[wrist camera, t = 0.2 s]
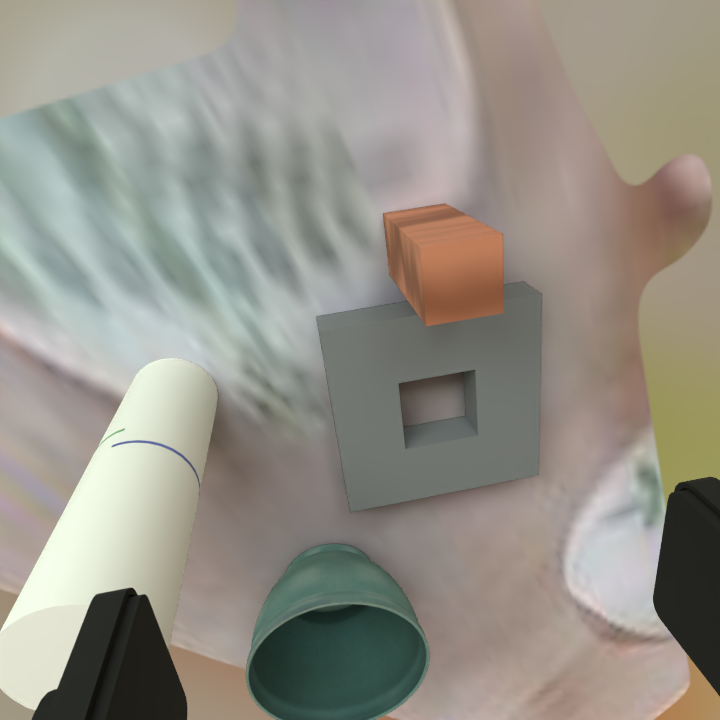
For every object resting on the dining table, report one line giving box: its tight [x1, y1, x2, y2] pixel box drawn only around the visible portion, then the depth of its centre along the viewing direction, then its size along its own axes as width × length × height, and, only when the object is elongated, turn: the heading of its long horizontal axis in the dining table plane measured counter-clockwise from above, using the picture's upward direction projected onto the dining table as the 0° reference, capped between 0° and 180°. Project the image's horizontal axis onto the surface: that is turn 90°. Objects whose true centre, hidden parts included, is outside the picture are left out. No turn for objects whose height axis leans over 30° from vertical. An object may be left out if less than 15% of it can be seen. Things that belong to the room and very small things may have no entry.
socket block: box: [316, 281, 542, 512], centre depth 48 cm, size 18×18×4 cm
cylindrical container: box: [0, 358, 218, 710], centre depth 35 cm, size 7×7×25 cm
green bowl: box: [246, 544, 430, 720], centre depth 52 cm, size 16×16×11 cm
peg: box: [383, 204, 504, 326], centre depth 38 cm, size 5×5×12 cm
